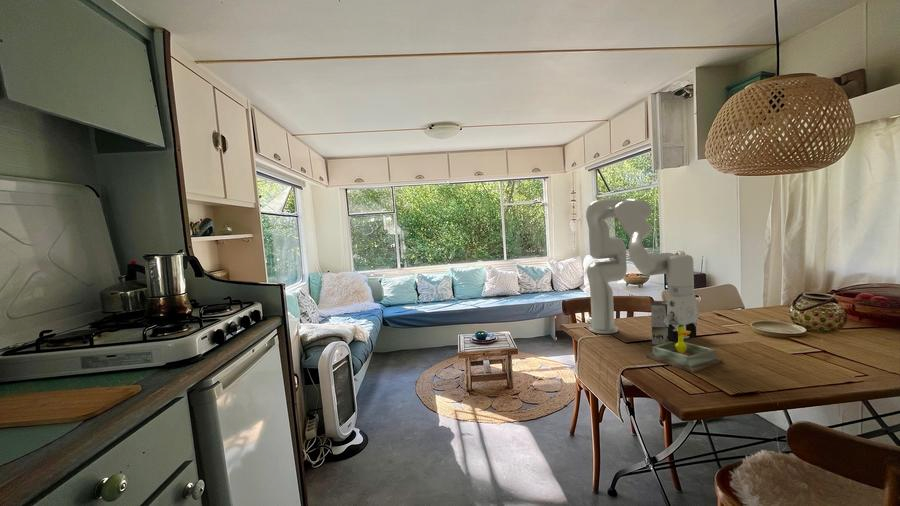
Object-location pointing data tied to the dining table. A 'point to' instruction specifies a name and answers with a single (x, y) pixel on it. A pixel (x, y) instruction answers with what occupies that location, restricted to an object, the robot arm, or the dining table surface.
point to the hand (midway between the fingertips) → (682, 338)
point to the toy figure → (681, 339)
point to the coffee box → (659, 322)
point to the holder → (684, 356)
